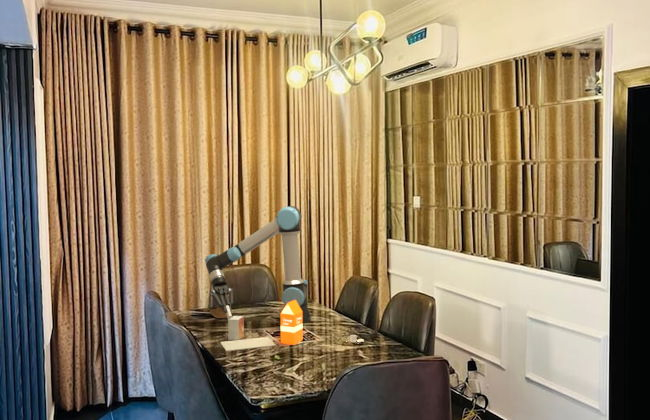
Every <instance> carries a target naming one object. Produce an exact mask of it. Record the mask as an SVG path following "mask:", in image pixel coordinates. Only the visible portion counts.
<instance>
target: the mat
mask: <svg viewBox="0 0 650 420" xmlns="http://www.w3.org/2000/svg"><path fill="white" fill-rule="evenodd" d="M219 343H220V345H221V346H222V347H223V349H224V350H225V352H232V351H239V350H240V351H241V350H243V351H244V350H250V349H260V348H267V347H269V348H271V347H276V346H277V344H276V343H275V342H274V341H273V340H272V339H271V338H270V337H269V336H264V337H256V338H255V337H254V338H245V339H240V340H227V341H226V340H225V341H220V342H219Z"/></svg>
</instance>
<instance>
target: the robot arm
mask: <svg viewBox="0 0 650 420" xmlns="http://www.w3.org/2000/svg"><path fill="white" fill-rule="evenodd" d="M301 221H302V213H301V210H300V209H299V208H298V207H296V206H293V205H288V206H285V207H282V208H281V209H280V210H279V211H278V212H277V215H276V216H275V217H274V219H273V220H272V221H270V222H269V223H267V224H266V225H264V226H263V227H261V228H260V229H258V230H256V231H255V232H253V233H252V234H250V235H249V236H247V237H245V238H244V239H243V240H240V242H239V243H237V244H235V245H234V246H233V247H230V248H228V249H227V250H225V251H223V252H221V253H219V254H216V253H212V254H208V255H207V256H206V257H205V258H204V259H205V260H204V263H205V267H206V269H207V272H208V276H209V279H210V281H211V286H212V290H211V291H210V293H209V295H210V296H211V297H212V298H213V301H214V302H215V304H216V306H217V305H218V307H219V308H221V307H222V309H223V310H224V313H226V315H227V318H226V319H227V320H228V319H230V318H231V317H233V315H232V306H233V305H234V290H235V289H234V288H230V287H229V286H228V284H227V281H226V277H225V273H224V271H223V269H224V268H226V267H227V266H230V265H231V264H233V263H235V262H237V261H238V260H240V259H241V258H243V257H244V256H246V255H247V254H249V253H250V252H252V251H254V250H255V249H256V248H258V247H259V246H261V245H262V244H263V243H266V242H267V241H268V240H270V239H271V238H273V237H275V236H276V235H277V234H280V235H281V240H282V241H281V242H282V256H283V268H284V271H283V272H284V280H283V281H282V283H281V284H282V295H281V301H282V302H283V304H284V306H286V304H287V303H288V302H291V301H293V300H296V302H297V303H298V305H299V307H300V308H301V310H302V323H307V322H310V321H311V319H312V317H311V316H312V315H311V312H310V309H309V306H308V305H309V304H308V303H309V301H308V300H309V299H308V296H309V294H308V286H309V284H308V280H307V279H304V278H303V279H302V273H301V262H300V261H301V260H300V248H299V247H300V245H299V234H300V232H301ZM227 292H229V293H230V294H229V298H230V302H229V299H228V296H227ZM217 295H218V297H219V298H218V297H217ZM223 297H224V298H223ZM219 299H220V300H219ZM224 299H225V301H224ZM225 302H226V306H225Z"/></svg>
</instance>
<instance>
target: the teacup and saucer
mask: <svg viewBox="0 0 650 420" xmlns="http://www.w3.org/2000/svg"><path fill="white" fill-rule="evenodd" d="M349 338H350V340H349ZM347 340H348V341H351V342H356V341H357V342H363V343H364V342H365V340H364V339H363V338H359V339H357V335H356V334H351V335H349V336H348V338H347ZM351 342H350V343H351ZM357 342H356V343H357Z"/></svg>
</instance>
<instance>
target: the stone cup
mask: <svg viewBox="0 0 650 420" xmlns="http://www.w3.org/2000/svg"><path fill="white" fill-rule="evenodd" d="M229 294H230V293H229V291H228V292H227V296H228V299H229V302H230V298H229ZM216 295H217V294H216ZM217 297H218V295H217ZM218 298H219V297H218ZM223 298H224V297H223ZM219 300H220V299H219ZM224 301H225V299H224ZM225 306H226V302H225ZM209 313H210V314H211V315H212V316H213V317H215V318H217V319H228V318H227V315H226V313H224V310H223V309H222V307H221V308H219V307H218V305H217V304H216V308H213V309H210V310H209Z"/></svg>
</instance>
